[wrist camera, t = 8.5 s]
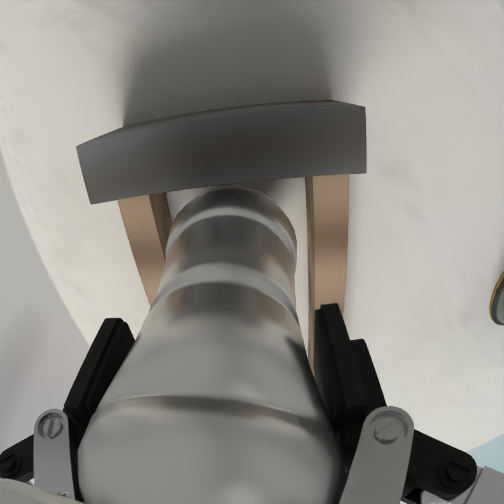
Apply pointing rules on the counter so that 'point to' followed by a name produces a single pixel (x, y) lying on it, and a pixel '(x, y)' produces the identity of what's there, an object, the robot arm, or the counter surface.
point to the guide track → (235, 177)
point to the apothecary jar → (498, 302)
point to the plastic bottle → (217, 375)
